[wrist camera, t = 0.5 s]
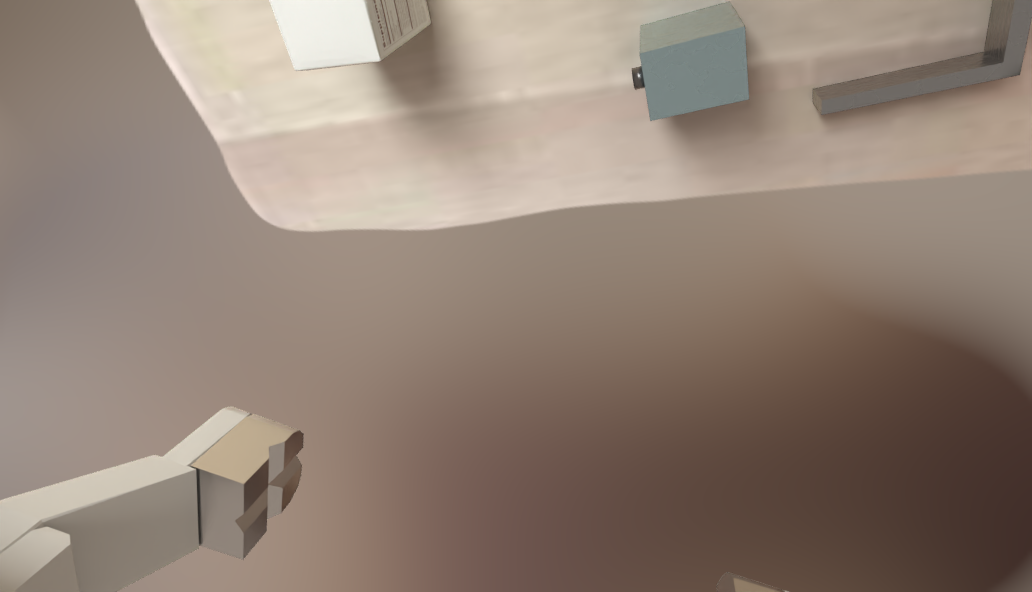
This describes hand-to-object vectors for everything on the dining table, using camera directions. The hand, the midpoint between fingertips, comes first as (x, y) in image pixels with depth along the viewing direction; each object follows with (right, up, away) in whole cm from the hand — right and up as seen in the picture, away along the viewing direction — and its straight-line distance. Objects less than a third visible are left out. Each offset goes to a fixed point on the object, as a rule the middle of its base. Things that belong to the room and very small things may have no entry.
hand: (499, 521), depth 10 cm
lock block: (+15, +25, +36) cm, 47 cm away
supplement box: (-11, +31, +38) cm, 51 cm away
